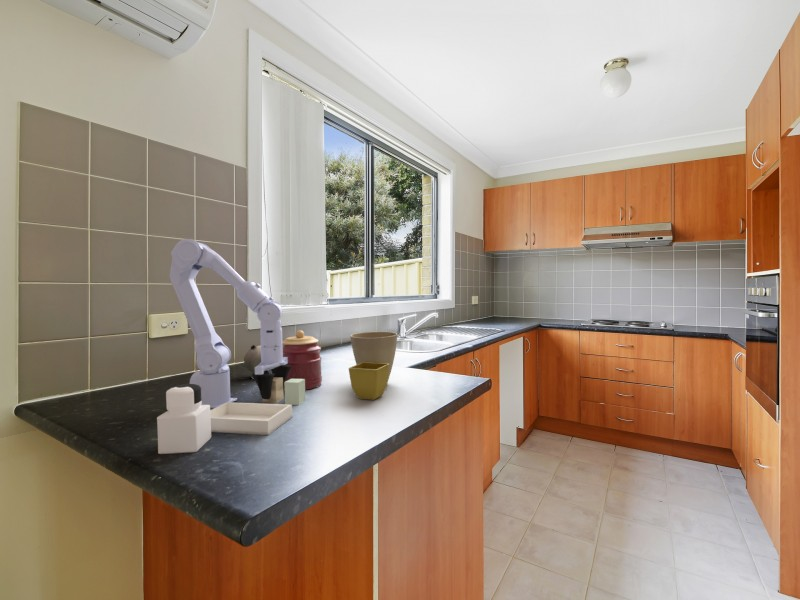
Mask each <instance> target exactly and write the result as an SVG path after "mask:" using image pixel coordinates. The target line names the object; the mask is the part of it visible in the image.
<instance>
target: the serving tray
mask: <svg viewBox="0 0 800 600" xmlns="http://www.w3.org/2000/svg"><path fill="white" fill-rule="evenodd" d="M210 415H211V433H225V434H226V433H227V434H244V435H245V434H246V435H260V436H261V435H263V436H264V435H265V436H269V435H271V434H272V433H273V432H275V431H276V430H278V428H280V427H282V425H284V424H286V423H287V422H288V421H289V420H291V418H293V405H286V404H285V403H283V404H282V403H280V404H279V403H257V402H255V403H254V402H253V403H252V402H235V401H234V402H226V403H224V404H222V405H220V406H218V407H216V408H211V409H210Z"/></svg>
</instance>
